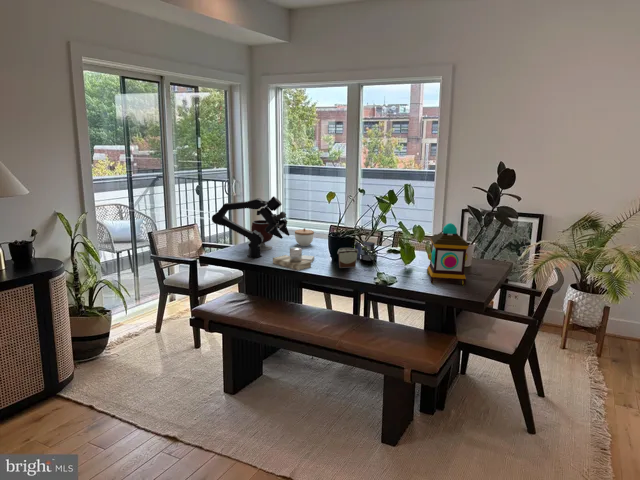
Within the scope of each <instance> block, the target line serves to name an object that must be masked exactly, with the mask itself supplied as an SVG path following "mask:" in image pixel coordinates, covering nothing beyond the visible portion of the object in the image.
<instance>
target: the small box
mask: <svg viewBox="0 0 640 480" xmlns="http://www.w3.org/2000/svg"><path fill="white" fill-rule="evenodd" d="M362 241H363V243H364V244H365V245H366V246H367V248H368V249H369V250H370V251H373V250H374V251H375V246H376V245H375V244H376V243H375V242H372V241H365V240H362ZM354 249H358V252H359V253H358V254H357V260H356V261H358V260H359V261H361V260H360V255H361V254H362V255H368V252H366V251H364V250H362V246H361V244H360V243H358V242H357V241H355V242H354Z"/></svg>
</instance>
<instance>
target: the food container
mask: <svg viewBox="0 0 640 480" xmlns="http://www.w3.org/2000/svg"><path fill="white" fill-rule="evenodd" d="M358 253H359V252H358V249H355V247H354V248H352V247H340V248H339V249H338V250H337V253H336V254H337V255H338V265H339V266H338V267H339V269H346V268H356V267H357V261H358V260H357V254H358Z"/></svg>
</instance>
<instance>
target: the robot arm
mask: <svg viewBox="0 0 640 480" xmlns="http://www.w3.org/2000/svg"><path fill="white" fill-rule="evenodd" d="M282 205H283V204H282V202H281V201H280V200H279V199H278V198H276V196H272V197H271V198H270V199H269V200H268V201H266V200H263V199H261V198H260V197H258V198H254V199H250V200H248V201H239V202H238V201H236V202H229V203H228V202H226V203H224V204H222V206H221V208H220V209H219V210H218V211H217V212H215V213H214V214H212V216H211V221H212V223H213V224H215V225H218V226H223V227H226V228H228V229H230V230H231V231H234V232H235V233H238V234H239V235H241V236H243V237H245V238H246V239H247V240H249V243H248V255H247V257H248V258H252V259H256V258H261V257H263V256H262V255H261V250H260V247H259V245H260V244H261V243H262V241H263V235H262V234H261V233H259V232H257V231H256V230H254V231H253V232H252V230H249V229H247V228H245V227H244V226H242V225H239V224H237V223H235V222H234V221H232V220H230V218H228V217H227V216H226V214H227V213H228V211H232V210H243V209H249V210H250V209H251V210H256V216H260V215H261V217H262V218H263V220H266V221H265V222H267V223H268V224H269V225H268V226H267V227H266V228H265V231H266V232H267V233H269V234H272V235H273V236H274V237H277V238H279V239H281V240H282V239H283V238H284V236H283V235H282V234H281V232H282V233H283V234H285V235H286V236H288V237H289V236H290V232H289V230H288V227H287V224H288V220H287V219H286V218H287V213H286V212H285V211H284V210H283V211H280V212H279V214H276V213H273V211H274V212H275V211H277V209H279V208H280V207H281V206H282Z"/></svg>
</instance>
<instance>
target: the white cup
mask: <svg viewBox="0 0 640 480" xmlns="http://www.w3.org/2000/svg"><path fill="white" fill-rule="evenodd" d="M302 255H303V248H301V247H294V246H293V247H290V248H289V256H290V262H293V263H299V262H301V261H302Z"/></svg>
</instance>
